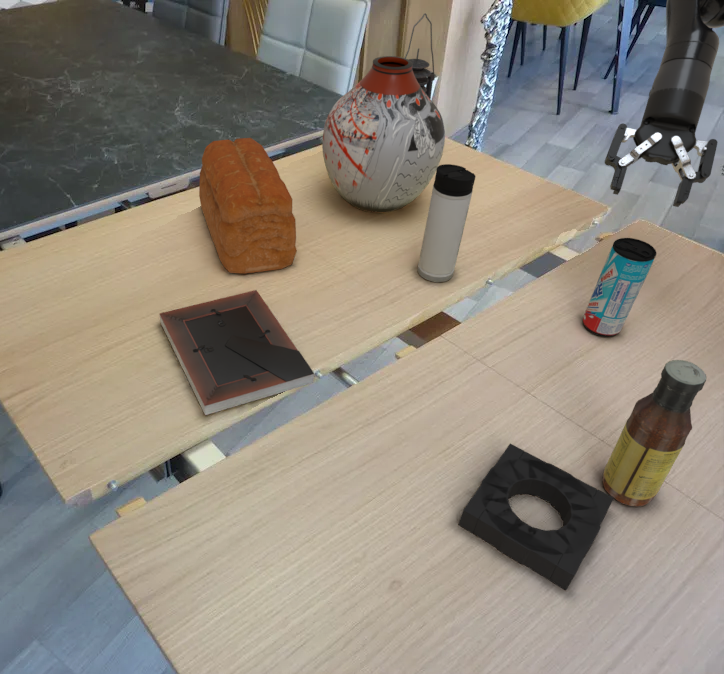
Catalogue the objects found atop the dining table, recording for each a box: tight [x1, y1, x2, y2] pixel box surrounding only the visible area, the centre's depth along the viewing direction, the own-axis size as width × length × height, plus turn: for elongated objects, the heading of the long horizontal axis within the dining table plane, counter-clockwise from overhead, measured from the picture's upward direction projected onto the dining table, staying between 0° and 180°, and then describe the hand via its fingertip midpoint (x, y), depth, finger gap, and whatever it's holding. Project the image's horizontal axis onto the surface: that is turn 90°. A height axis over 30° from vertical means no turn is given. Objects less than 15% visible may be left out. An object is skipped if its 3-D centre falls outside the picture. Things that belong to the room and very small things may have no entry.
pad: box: [458, 443, 615, 591], centre depth 79 cm, size 13×13×3 cm
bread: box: [198, 137, 298, 275], centre depth 122 cm, size 14×27×15 cm, turn 15°
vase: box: [321, 55, 446, 214], centre depth 128 cm, size 23×23×28 cm
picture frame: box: [158, 289, 315, 416], centre depth 100 cm, size 16×2×22 cm
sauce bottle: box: [602, 359, 707, 508], centre depth 77 cm, size 7×6×20 cm
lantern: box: [404, 13, 436, 100], centre depth 146 cm, size 12×11×30 cm
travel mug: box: [417, 163, 476, 283], centre depth 112 cm, size 6×7×20 cm
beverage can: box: [582, 237, 657, 338], centre depth 103 cm, size 6×6×15 cm
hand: (646, 198), depth 101 cm, fingers open, 8 cm apart
